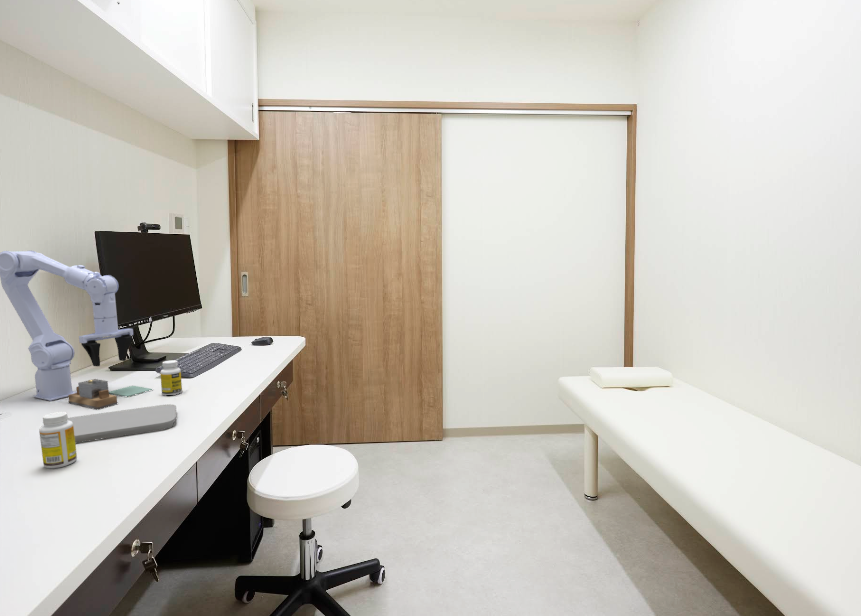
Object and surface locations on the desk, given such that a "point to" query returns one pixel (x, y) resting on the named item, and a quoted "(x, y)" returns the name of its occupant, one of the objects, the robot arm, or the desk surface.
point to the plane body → (93, 400)
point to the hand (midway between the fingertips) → (109, 363)
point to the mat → (129, 391)
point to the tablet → (123, 422)
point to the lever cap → (92, 388)
